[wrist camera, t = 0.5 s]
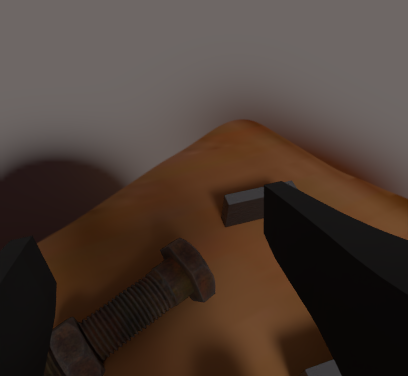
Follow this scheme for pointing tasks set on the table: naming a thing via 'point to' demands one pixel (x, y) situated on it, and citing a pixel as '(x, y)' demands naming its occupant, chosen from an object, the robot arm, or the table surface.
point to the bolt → (129, 312)
